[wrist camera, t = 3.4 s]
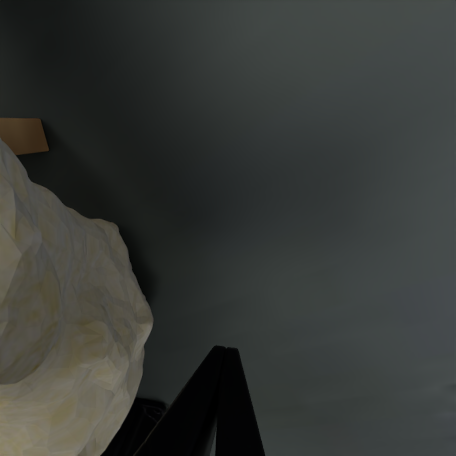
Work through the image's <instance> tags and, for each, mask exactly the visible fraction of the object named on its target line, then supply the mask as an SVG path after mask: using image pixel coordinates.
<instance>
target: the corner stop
mask: <svg viewBox="0 0 456 456" xmlns="http://www.w3.org/2000/svg"><path fill="white" fill-rule="evenodd" d="M0 138H1V140H2V141H3V142H4V143H6V144H7V145H8V146H9V148H10V149H11V150H12V152H13V153H14V154H15V155H22V154H30V153H37V152H45V151H49V148H48V145H47V141H46V138H45V134H44V130H43V127H42V123H41V120H40V119H38V118H0Z"/></svg>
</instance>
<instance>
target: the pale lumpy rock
mask: <svg viewBox="0 0 456 456" xmlns="http://www.w3.org/2000/svg"><path fill="white" fill-rule="evenodd" d="M145 299H146V297H145V295H143V294H142V292H141V289H140V287H139V285H138V282H137V279H136V277H135V275H134V273H133V272H132V266H131V263H130V260H129V254H128V249H127V247H126V245H125V243H124V242H123V240H122V237H121V236H120V234H119V229H118V226H117V225H116V224H114V223H113V222H108V221H105V220H102V219H88V218H86V217H84V216H81V215H80V214H79V213H78V212H76V211H75V210H74V209H72V208H68V207H66V206H65V205H64V204H63V203H62V202H61V201H60V200H59V199H58V197H57V196H56V195H55V194H54V193H53V192H51V191H50V190H48V189H47V188H45V187H43V186H40V185H38V184H36V183H33V182H31V181H30V179H29V178H28V175H27V172H26V169H25V168H24V166H23V165H22V164H21V162H20V161H19V159H18V158H17V157H16V155H15V154H14V153H13V152H12V150H11V149H10V148H9V146H8V145H7V144H6V143H4V142H3V141H2V140H1V138H0V456H100V455H101V454H102V453H103V452H104V451H105V449H106V448H107V446H108V445H109V443H110V442H111V440H112V439H113V437H114V436H115V434H116V433H117V431H118V430H119V429H120V427H121V425H122V423H123V421H124V420H125V418H126V416H127V414H128V412H129V410H130V408H131V406H132V404H133V401H134V399H135V396H136V393H137V390H138V387H139V384H140V381H141V378H142V374H143V367H142V365H143V360H144V354H145V352H144V344H145V342H146V340H147V338H148V336H149V334H150V332H151V329H152V327H153V321H154V319H153V316H152V313H151V309H150V306H149V304H148V303H147V301H146V300H145Z"/></svg>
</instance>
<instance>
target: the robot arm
mask: <svg viewBox="0 0 456 456" xmlns="http://www.w3.org/2000/svg"><path fill="white" fill-rule="evenodd" d="M216 427H217V431H216ZM215 432H216V451H215V456H265V453H264V449H263V445H262V441H261V437H260V433H259V429H258V425H257V421H256V417H255V413H254V409H253V406H252V402H251V398H250V394H249V390H248V386H247V382H246V378H245V374H244V370H243V366H242V362H241V359H240V355H239V351H238V349H237V348H231V347H227V348H226V347H224V346H217V345H216V346H214V347H213V348H212V350H211V351H210V352H209V354H208V355H207V356H206V358H205V359H204V360H203V362H202V363H201V364H200V366H199V367H198V369H197V370H196V371H195V373H194V374H193V375H192V377H191V378H190V379H189V381H188V382H187V384H186V385H185V386H184V388H183V389H182V390H181V392H180V393H179V394H178V396H177V397H176V399H175V400H174V401H173V403H172V404H171V405H170V407H169V408H168V409H167V411H166V408H165V406H164V405H163V404H162V403H158V402H152V401H146V400H140V399H134V401H133V404H132V406H131V408H130V410H129V412H128V414H127V416H126V418H125V420H124V421H123V423H122V425H121V427H120V429H119V430H118V431H117V433H116V434H115V436H114V437H113V439H112V440H111V442H110V443H109V445H108V446H107V448H106V449H105V451H104V452H103V453H102V454H101V455H100V456H210V452H211V448H212V444H213V440H214V436H215Z"/></svg>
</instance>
